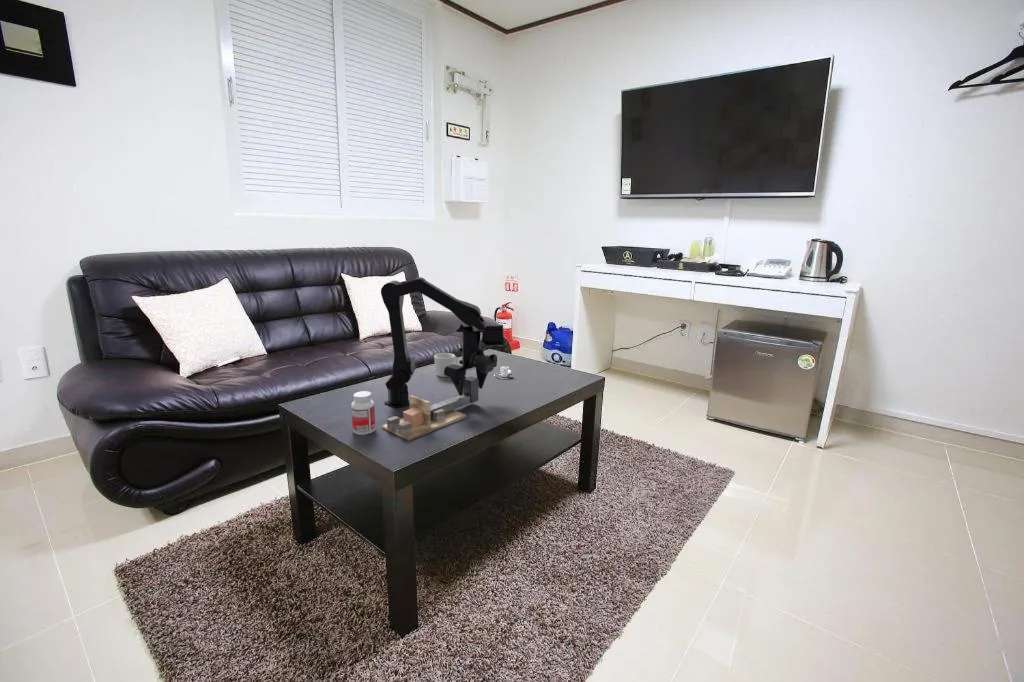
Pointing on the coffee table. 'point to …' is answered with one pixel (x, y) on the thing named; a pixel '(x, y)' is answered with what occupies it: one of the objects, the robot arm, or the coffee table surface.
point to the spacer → (414, 416)
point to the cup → (444, 362)
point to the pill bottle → (363, 413)
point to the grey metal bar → (459, 397)
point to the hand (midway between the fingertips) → (470, 391)
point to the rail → (429, 424)
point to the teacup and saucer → (505, 371)
